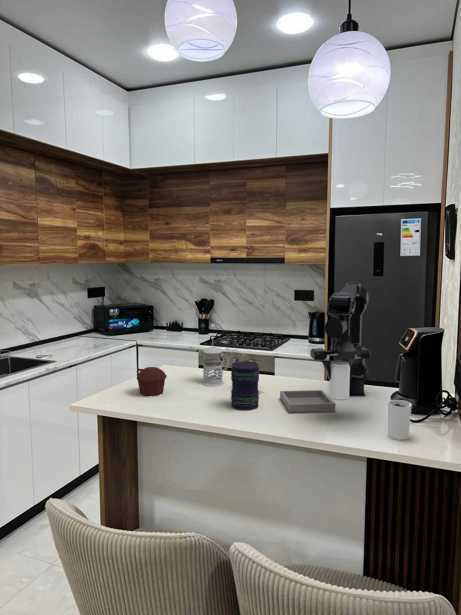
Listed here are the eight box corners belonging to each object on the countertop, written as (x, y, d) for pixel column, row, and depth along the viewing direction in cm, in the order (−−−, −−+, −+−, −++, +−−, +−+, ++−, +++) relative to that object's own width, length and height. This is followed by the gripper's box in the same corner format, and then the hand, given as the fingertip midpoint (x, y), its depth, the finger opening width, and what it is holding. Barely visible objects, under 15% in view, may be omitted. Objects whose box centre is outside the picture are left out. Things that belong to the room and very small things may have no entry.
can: (338, 401, 150) (339, 365, 148) (325, 396, 155) (325, 361, 154) (353, 398, 153) (354, 363, 151) (339, 393, 158) (340, 359, 157)
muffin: (130, 394, 178) (129, 368, 177) (150, 387, 187) (150, 363, 186) (153, 399, 171) (152, 373, 170) (173, 392, 180) (172, 367, 179)
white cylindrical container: (381, 435, 138) (383, 402, 137) (394, 430, 142) (396, 398, 141) (401, 442, 133) (403, 408, 132) (414, 436, 137) (416, 404, 136)
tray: (322, 397, 174) (322, 389, 174) (335, 412, 158) (335, 403, 158) (279, 398, 172) (280, 390, 172) (289, 413, 157) (289, 404, 156)
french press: (199, 380, 197) (198, 322, 194) (225, 379, 199) (225, 321, 196) (203, 387, 187) (203, 326, 184) (231, 385, 190) (231, 325, 187)
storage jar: (263, 404, 166) (263, 363, 165) (251, 412, 158) (251, 369, 156) (238, 400, 171) (238, 360, 169) (225, 407, 162) (226, 366, 161)
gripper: (320, 337, 142) (319, 387, 144) (378, 336, 144) (376, 385, 146) (310, 331, 153) (309, 377, 155) (364, 330, 155) (363, 375, 157)
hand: (339, 378), depth 153 cm, fingers closed on can, 6 cm apart
